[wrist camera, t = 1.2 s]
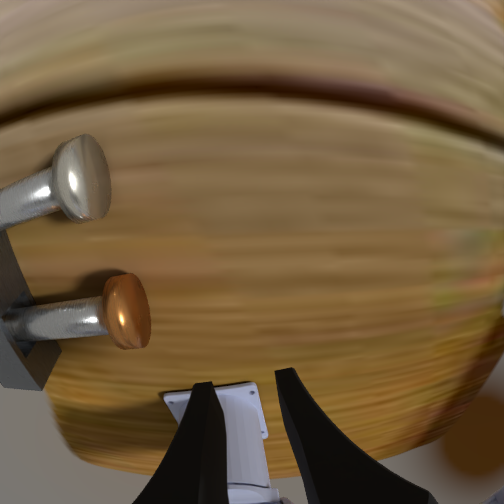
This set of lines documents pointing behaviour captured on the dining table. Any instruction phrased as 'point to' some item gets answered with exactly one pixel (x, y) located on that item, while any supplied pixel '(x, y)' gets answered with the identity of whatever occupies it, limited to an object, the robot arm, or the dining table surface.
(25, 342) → the block
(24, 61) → the dining table surface
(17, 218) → the pin
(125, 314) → the pin
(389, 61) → the dining table surface
